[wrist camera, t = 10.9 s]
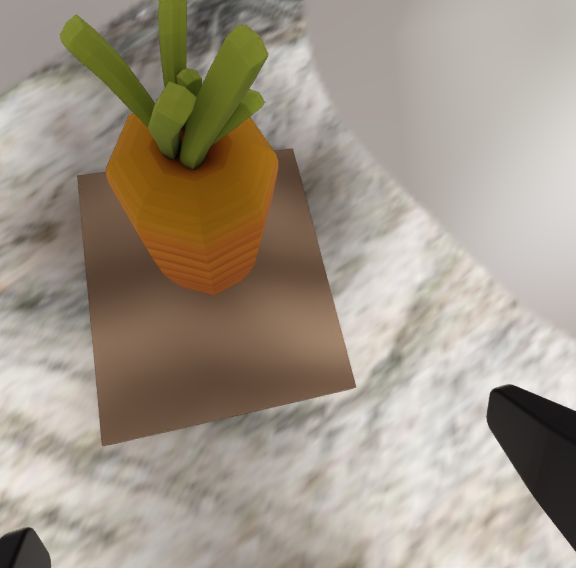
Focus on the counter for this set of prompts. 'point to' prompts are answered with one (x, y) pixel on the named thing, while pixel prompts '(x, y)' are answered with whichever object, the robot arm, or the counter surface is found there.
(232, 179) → the carrot
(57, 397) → the counter surface
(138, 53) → the counter surface
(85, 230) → the walnut board
